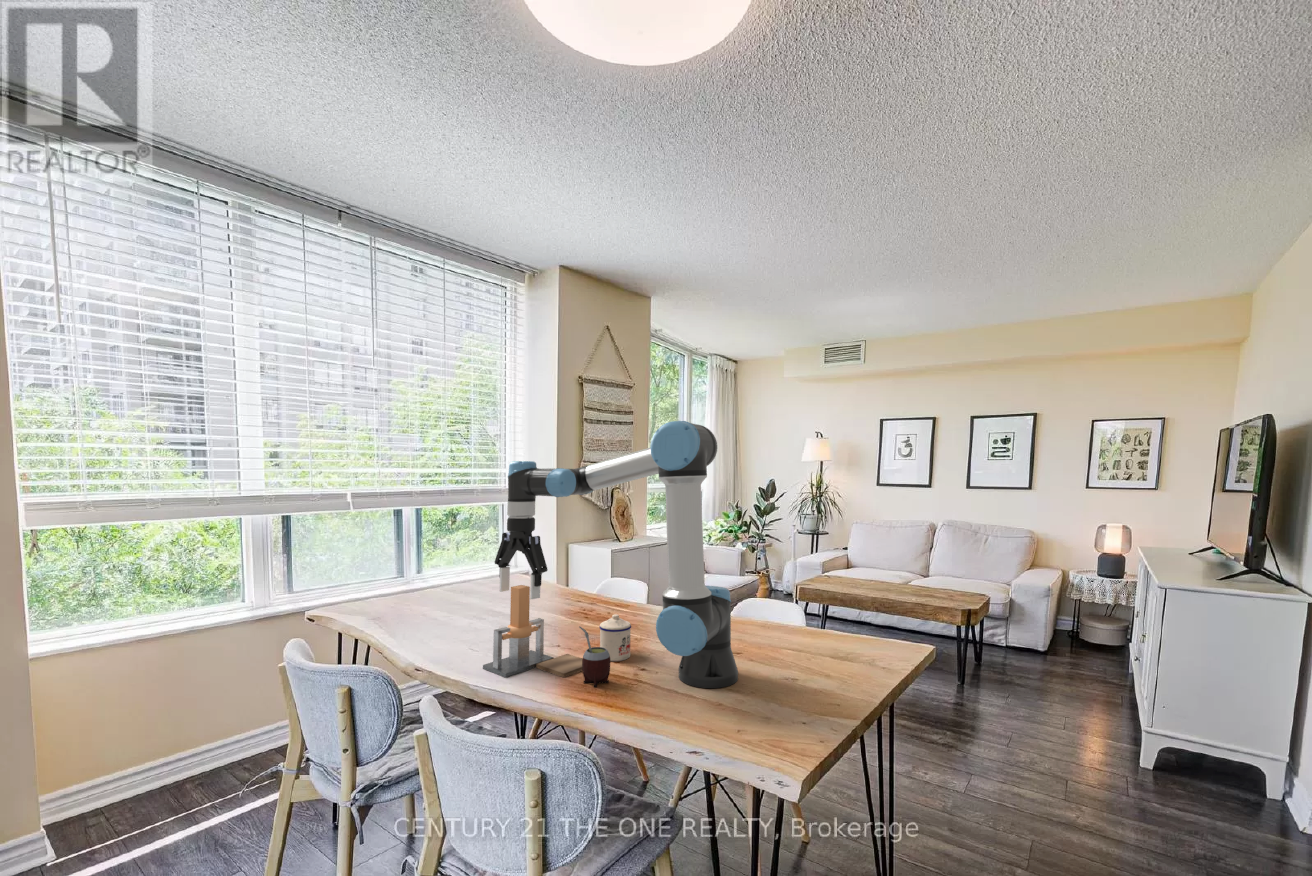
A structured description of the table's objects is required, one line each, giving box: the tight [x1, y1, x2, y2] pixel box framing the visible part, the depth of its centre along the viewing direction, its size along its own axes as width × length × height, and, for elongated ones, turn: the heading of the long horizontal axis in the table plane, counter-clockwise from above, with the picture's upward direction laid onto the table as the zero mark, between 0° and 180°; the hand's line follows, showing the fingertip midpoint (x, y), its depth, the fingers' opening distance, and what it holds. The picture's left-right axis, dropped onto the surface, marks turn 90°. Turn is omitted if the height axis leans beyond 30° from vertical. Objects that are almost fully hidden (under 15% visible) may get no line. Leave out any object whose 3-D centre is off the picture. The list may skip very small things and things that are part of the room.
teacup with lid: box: [599, 613, 632, 662], centre depth 160 cm, size 12×9×12 cm
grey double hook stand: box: [482, 617, 555, 678], centre depth 152 cm, size 16×10×11 cm, turn 141°
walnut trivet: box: [535, 653, 583, 678], centre depth 150 cm, size 11×11×1 cm
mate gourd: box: [578, 626, 612, 688], centre depth 139 cm, size 8×8×15 cm
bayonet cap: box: [502, 584, 538, 641], centre depth 152 cm, size 12×6×13 cm, turn 141°
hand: (519, 594), depth 153 cm, fingers open, 13 cm apart
